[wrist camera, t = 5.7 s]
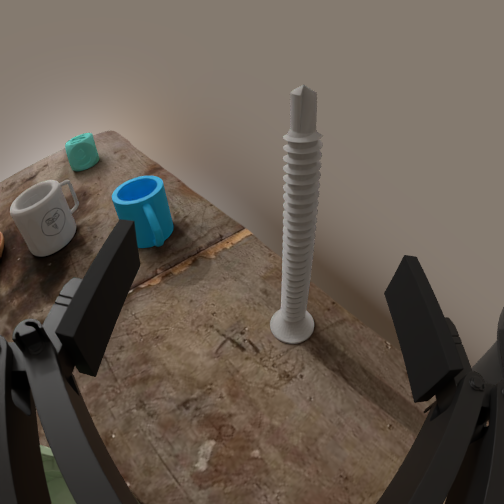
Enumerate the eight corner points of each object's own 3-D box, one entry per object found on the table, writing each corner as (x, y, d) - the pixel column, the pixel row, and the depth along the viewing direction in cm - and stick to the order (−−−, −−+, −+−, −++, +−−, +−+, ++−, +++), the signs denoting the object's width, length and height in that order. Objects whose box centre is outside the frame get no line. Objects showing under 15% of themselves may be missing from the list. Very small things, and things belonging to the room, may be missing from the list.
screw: (252, 89, 16) (277, 76, 20) (263, 337, 33) (278, 303, 37) (338, 97, 15) (346, 82, 18) (307, 348, 32) (318, 313, 35)
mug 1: (45, 265, 44) (20, 219, 37) (23, 248, 48) (2, 206, 41) (97, 220, 52) (80, 174, 46) (70, 209, 57) (54, 168, 50)
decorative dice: (98, 155, 77) (91, 130, 72) (100, 163, 72) (92, 137, 67) (73, 165, 75) (65, 140, 69) (73, 174, 69) (64, 148, 64)
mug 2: (121, 229, 50) (107, 188, 44) (163, 211, 53) (153, 170, 47) (141, 270, 42) (123, 225, 37) (191, 247, 45) (180, 201, 40)
